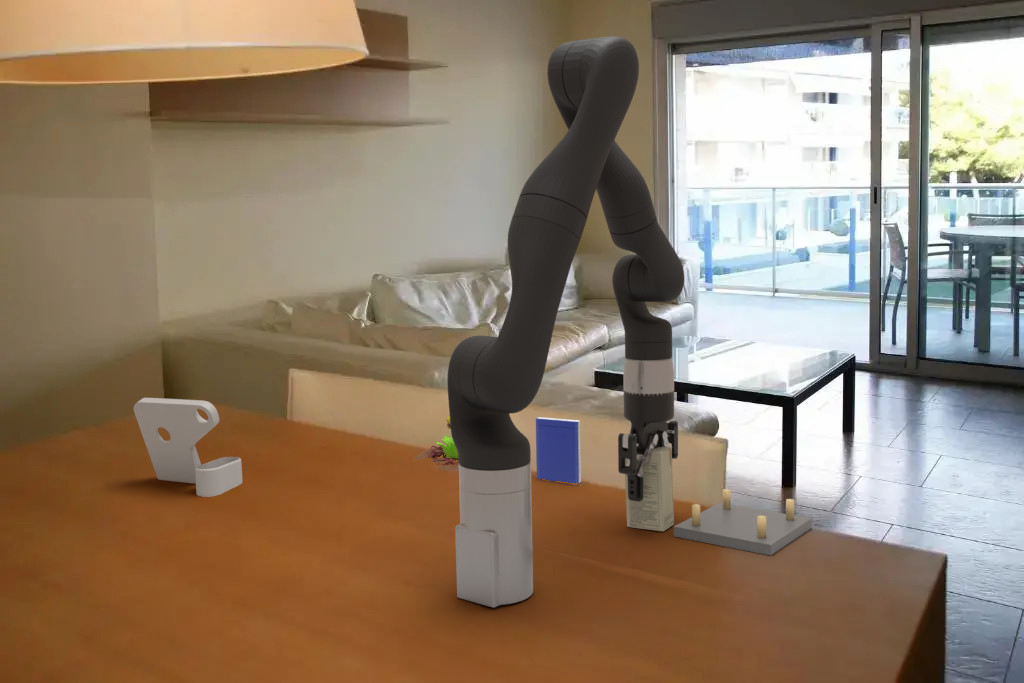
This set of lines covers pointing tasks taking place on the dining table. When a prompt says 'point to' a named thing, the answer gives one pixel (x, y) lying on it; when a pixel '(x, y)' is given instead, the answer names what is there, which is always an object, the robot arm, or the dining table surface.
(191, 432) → the phone holder
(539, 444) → the hard drive
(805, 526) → the standoff plate
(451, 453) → the plant
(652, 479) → the skincare box
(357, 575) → the dining table surface
